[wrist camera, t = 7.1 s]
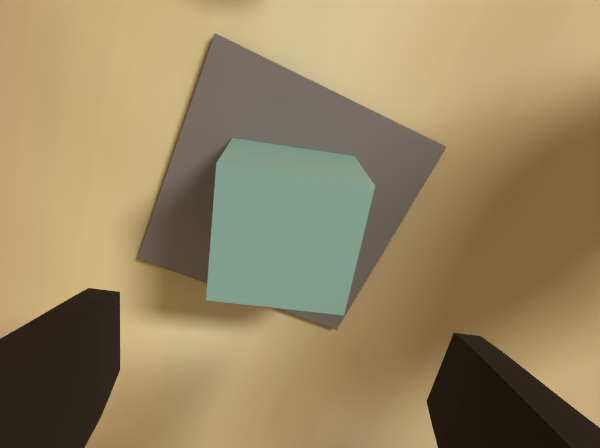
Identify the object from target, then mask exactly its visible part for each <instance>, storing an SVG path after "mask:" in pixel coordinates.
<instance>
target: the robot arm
mask: <svg viewBox="0 0 600 448" xmlns="http://www.w3.org/2000/svg"><path fill="white" fill-rule="evenodd" d="M119 371H120V292H115V291H107V290H99V289H91V288H88V289H86V290H85V291H83V292H81V293H79V294H77V295H75V296H74V297H72V298H70V299H68V300H67V301H65V302H63V303H61V304H60V305H58V306H56V307H55V308H53V309H51V310H49V311H48V312H46V313H44V314H43V315H41V316H39V317H38V318H36V319H34V320H32V321H31V322H29V323H27V324H25V325H24V326H22V327H20V328H18V329H17V330H15V331H13V332H11V333H10V334H8V335H6V336H4V337H3V338H1V339H0V448H84V447H85V445H86V444H87V442H88V440H89V438H90V436H91V434H92V432H93V431H94V429H95V427H96V425H97V423H98V421H99V419H100V417H101V415H102V413H103V410H104V408H105V406H106V403H107V401H108V399H109V396H110V394H111V391H112V389H113V386H114V384H115V381H116V379H117V376H118V373H119ZM427 405H428V409H429V413H430V418H431V422H432V426H433V430H434V434H435V437H436V441H437V445H438V448H600V428H599V427H598V426H597V425H595V424H594V423H593V422H591V421H590V420H589V419H587V418H586V417H585V416H583V415H582V414H581V413H580V412H578V411H577V410H576V409H574V408H573V407H572V406H571V405H569V404H568V403H567V402H565V401H564V400H563V399H562V398H560V397H559V396H558V395H556V394H555V393H554V392H553V391H551V390H550V389H549V388H548V387H546V386H545V385H544V384H543V383H541V382H540V381H539V380H538V379H536V378H535V377H534V376H532V375H531V374H530V373H529V372H527V371H526V370H525V369H524V368H522V367H521V366H520V365H519V364H517V363H516V362H515V361H513V360H512V359H511V358H510V357H508V356H507V355H506V354H504V353H503V352H502V351H500V350H499V349H498V348H496V347H495V346H494V345H492V344H491V343H489V342H488V341H486V340H485V339H483V338H482V337H480V336H475V335H467V334H459V333H454V334H453V336H452V339H451V341H450V344H449V346H448V349H447V351H446V354H445V357H444V359H443V362H442V364H441V367H440V369H439V372H438V374H437V377H436V379H435V382H434V384H433V387H432V389H431V392H430V394H429V397H428V399H427Z"/></svg>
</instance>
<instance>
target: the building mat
mask: <svg viewBox="0 0 600 448" xmlns="http://www.w3.org/2000/svg"><path fill="white" fill-rule="evenodd" d="M232 138H236V139H242V140H249V141H256V142H263V143H269V144H276V145H283V146H290V147H296V148H303V149H310V150H317V151H323V152H330V153H337V154H344V155H350V156H355V157H356V159H357V160H358V162H359V163H360V165H361V166H362V167H363V169H364V170H365V172H366V173H367V175H368V176H369V178H370V179H371V180H372V182H373V183H374V185H375V189H374V193H373V197H372V202H371V206H370V210H369V214H368V218H367V222H366V226H365V231H364V235H363V239H362V243H361V247H360V251H359V256H358V260H357V264H356V268H355V272H354V276H353V281H352V285H351V289H350V293H349V297H348V301H347V305H346V310H345V314H344V315H335V314H326V313H317V312H308V311H299V310H290V309H280V308H277V309H280V310H283V311H285V312H288V313H291V314H294V315H296V316H299V317H302V318H305V319H308V320H310V321H313V322H316V323H319V324H321V325H324V326H327V327H330V328H332V329H335V330H337V328H338V326H339V325H340V323H341V321H342V320H343V318H344V316H345V315H346V313H347V311H348V310H349V308H350V306H351V305H352V303H353V301H354V300H355V298H356V296H357V295H358V293H359V291H360V290H361V288H362V286H363V285H364V283H365V281H366V280H367V278H368V276H369V275H370V273H371V271H372V270H373V268H374V266H375V265H376V263H377V261H378V260H379V258H380V256H381V255H382V253H383V252H384V250H385V248H386V247H387V245H388V243H389V242H390V240H391V238H392V237H393V235H394V233H395V232H396V230H397V228H398V227H399V225H400V223H401V222H402V220H403V218H404V217H405V215H406V213H407V212H408V210H409V208H410V207H411V205H412V203H413V202H414V200H415V198H416V197H417V195H418V193H419V192H420V190H421V188H422V187H423V185H424V183H425V182H426V180H427V178H428V177H429V175H430V174H431V172H432V170H433V169H434V167H435V165H436V164H437V162H438V160H439V159H440V157H441V155H442V154H443V152H444V150H445V149H446V147H445V146H443V145H441V144H439V143H437V142H435V141H433V140H431V139H429V138H427V137H425V136H423V135H421V134H419V133H417V132H415V131H413V130H410V129H408V128H406V127H404V126H402V125H400V124H398V123H396V122H394V121H392V120H390V119H388V118H386V117H384V116H382V115H380V114H378V113H376V112H374V111H372V110H370V109H368V108H366V107H364V106H362V105H360V104H358V103H356V102H354V101H352V100H350V99H347V98H345V97H343V96H341V95H339V94H337V93H335V92H333V91H331V90H329V89H327V88H325V87H323V86H321V85H319V84H317V83H315V82H313V81H311V80H309V79H307V78H305V77H303V76H301V75H299V74H297V73H295V72H293V71H291V70H289V69H287V68H285V67H282V66H280V65H278V64H276V63H274V62H272V61H270V60H268V59H266V58H264V57H262V56H260V55H258V54H256V53H254V52H252V51H250V50H248V49H246V48H244V47H242V46H240V45H238V44H236V43H234V42H232V41H230V40H228V39H226V38H224V37H222V36H220V35H217V34H214V37H213V40H212V43H211V46H210V48H209V51H208V54H207V57H206V60H205V63H204V66H203V69H202V72H201V75H200V78H199V81H198V83H197V86H196V89H195V92H194V95H193V98H192V101H191V104H190V107H189V110H188V113H187V116H186V118H185V121H184V124H183V127H182V130H181V133H180V136H179V139H178V142H177V145H176V148H175V151H174V154H173V156H172V159H171V162H170V165H169V168H168V171H167V174H166V177H165V180H164V183H163V186H162V189H161V191H160V194H159V197H158V200H157V203H156V206H155V209H154V212H153V215H152V218H151V221H150V224H149V226H148V229H147V232H146V235H145V238H144V241H143V244H142V247H141V250H140V253H139V256H138V259H141V260H144V261H147V262H149V263H152V264H155V265H158V266H160V267H163V268H166V269H169V270H172V271H174V272H177V273H180V274H183V275H185V276H188V277H191V278H194V279H196V280H199V281H202V282H205V283H207V280H208V267H209V254H210V241H211V228H212V214H213V201H214V188H215V175H216V163H217V161H218V160H219V158H220V157H221V155H222V154H223V152H224V150H225V149H226V147H227V146H228V144H229V142H230V141H231V139H232Z"/></svg>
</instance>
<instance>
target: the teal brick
mask: <svg viewBox="0 0 600 448" xmlns="http://www.w3.org/2000/svg"><path fill="white" fill-rule="evenodd" d="M374 189H375V185H374V183H373V182H372V180H371V179H370V178H369V176H368V175H367V173H366V172H365V170H364V169H363V167H362V166H361V165H360V163H359V162H358V160H357V159H356V157H355V156H350V155H344V154H337V153H330V152H323V151H317V150H310V149H303V148H296V147H290V146H283V145H276V144H269V143H263V142H256V141H249V140H242V139H236V138H232V139H231V141H230V142H229V144H228V146H227V147H226V149H225V150H224V152H223V154H222V155H221V157H220V158H219V160H218V161H217V163H216V175H215V188H214V201H213V214H212V228H211V241H210V254H209V267H208V280H207V294H206V300H207V301H216V302H225V303H235V304H244V305H253V306H262V307H271V308H280V309H290V310H299V311H308V312H317V313H326V314H335V315H344V314H345V310H346V305H347V301H348V297H349V293H350V289H351V285H352V281H353V276H354V272H355V268H356V264H357V260H358V256H359V251H360V247H361V243H362V239H363V235H364V231H365V226H366V222H367V218H368V214H369V210H370V206H371V202H372V197H373V193H374Z"/></svg>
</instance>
